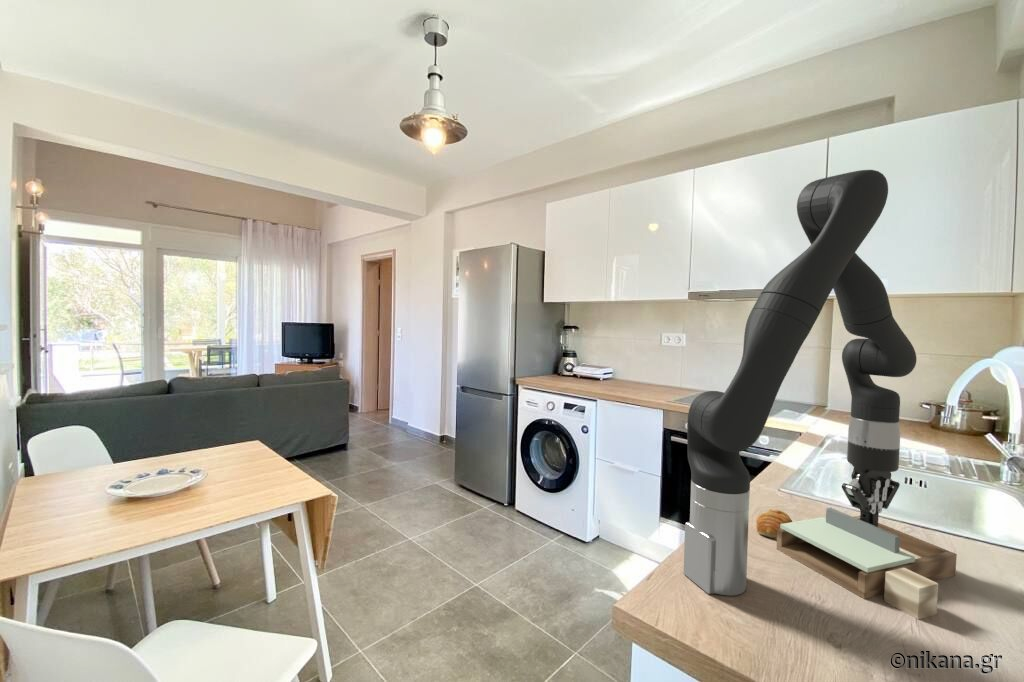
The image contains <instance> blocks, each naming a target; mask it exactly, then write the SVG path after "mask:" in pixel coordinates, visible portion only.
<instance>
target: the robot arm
mask: <svg viewBox="0 0 1024 682" xmlns="http://www.w3.org/2000/svg"><path fill="white" fill-rule="evenodd" d="M888 184H889V183H888V180H887V177H886V176H885V175H884V173H882V172H881V171H878V170H875V169H862V170H854V171H849V172H845V173H841V174H837V175H832V176H828V177H824V178H823V177H822V178H819V179H816V180H813V181H811V182H809V183H807V184H806V186H804V187H803V188H802V189H801V191H800V193H799V195H798V197H797V202H796V213H797V217H798V220H799V223H800V225H801V227H802V229H803V232H804V234H805V235H806V238H807V239H808V241H809V243H810V246H809V247H807V249H806V250H804V251H803V252H802V253H801V254H800V255H798V256H797V257H796V258H795V259H793V261H791V262H790V263H789V264H787V266H784V268H782V269H781V270H780V271H778V273H777V274H775V276H773V277H772V279H771V278H770V280H769V281H768V282H767V283H766V285H765V286H764V287H763V289H762V291H761V292H760V294H759V296H758V297H757V299H756V301H755V303H754V305H753V307H752V308H751V310H750V313H749V315H748V318H747V320H746V324H745V328H744V337H743V351H742V356H741V361H740V364H739V366H738V369H737V371H736V372H735V375H734V376H733V378H732V380H731V381H730V384H729V385H728V387H727V388H726V390H725V392H723V391H718V390H717V391H716V390H708V391H707V390H706V391H705V392H701V393H700V394H699V395H697V396H696V397H695V398H694V399H693V400H692V403H690V405H689V406H690V407H689V409H688V414H687V429H686V431H687V433H686V435H687V461H688V464H689V467H690V473H691V477H690V478H691V479H690V505H689V506H690V507H689V508H690V509H689V512H690V513H689V521H687V522H685V524H684V549H683V550H684V551H683V575H685V576H686V577H687V578H688V579H689V580H690V581H692V582H693V583H694V584H695V585H697V586H698V587H699V588H700V589H702V590H703V591H704V592H705V593H706V594H707V595H711V594H718V595H721V596H729V597H730V596H739V595H742V594H743V593H744V592H745V591H746V589H747V576H748V575H747V574H748V572H747V571H748V545H749V544H748V542H749V538H748V537H749V521H750V519H749V516H750V514H749V513H750V492H751V475H750V472H749V470H748V469H747V467H746V466H745V464H744V462H743V459H742V458H741V454H740V453H741V452H744V451H745V450H747V449H749V448H750V447H752V446H753V445H754V444H755V443H756V441H757V440H758V439H759V438H760V435H761V434H762V432H763V430H764V428H765V426H766V423H767V421H768V419H769V415H770V413H771V410H772V409H773V405H774V402H775V400H776V398H777V395H778V393H779V391H780V388H781V387H782V383H783V381H785V378H786V376H787V375H788V372H789V371H790V369H791V367H792V365H793V364H794V361H795V360H796V359H795V358H797V357H796V356H797V355H798V353H799V351H800V349H801V348H802V345H803V344H804V342H805V341H806V339H807V338H808V336H809V334H810V332H811V331H812V329H813V327H814V325H815V323H816V321H817V319H818V318H819V316H820V314H821V312H822V309H823V307H824V306H825V303H826V301H827V299H828V298H829V296H830V294H831V293H832V291H833V292H834V295H835V297H836V298H835V299H836V300H837V305H838V308H839V312H840V316H841V319H842V322H843V325H844V328H845V330H846V331H847V332H848V333H849V334H851V335H853V336H857V337H862V338H853V339H850V340H849V341H848V342H847V343H846V344H845V345H844V347H843V349H842V353H841V361H842V365H843V369H844V372H845V376H846V379H847V383H848V386H849V390H850V391H849V392H850V395H851V402H850V403H851V404H850V420H849V424H848V429H847V431H848V434H847V455H846V459H847V460H846V461H847V462H848V463H849V464H850V465H851V466H852V467H853V471H852V472H851V476H850V477H851V481H850V482H849V484H848V483H844V482H843V483H842V484H841V489H842V491H843V493H844V495H845V496H846V498H847V499H848V501H849V503H850V506H851V507H853V508H856V509H858V510H859V511H860V515H859V516H860V520H862V521H864V522H867V523H869V524H871V525H874V526H876V527H878V523H879V514H881V513H882V511H883V509H885V510H887V509H888V508H889V506H890V504H891V503H892V501H893V499H894V497H895V496H896V494H897V492H898V490H899V488H900V486H901V485H900V482H899V481H896V480H893V479H892V473H894V472H897V471H899V465H900V450H901V449H900V448H901V447H900V446H901V431H900V413H901V411H900V410H901V396H900V393H898V392H897V391H895V390H892V389H889V388H885V387H882V386H879V385H877V384H876V383H875V382H874V381H873V379H872V378H871V377H872V376H877V377H890V378H902V377H906V376H907V375H910V374H911V373H912V372H913V371H914V369H915V368H916V365H917V354H916V353H917V352H916V350H915V347H914V346H913V344H912V342H911V341H910V339H909V337H907V335H906V334H905V333H904V331H903V330H902V329H901V327H900V325H899V324H898V323H897V321H896V319H895V318H894V315H893V312H892V308H891V304H890V299H889V295H888V292H887V290H886V287H885V285H884V282H883V281H882V280H881V278H880V277H879V275H878V274H877V273H876V272H875V271H874V270H873V269H872V268H871V267H870V266H869V265H868V264H867V263H866V262H865V261H864V260H863V259H862V258H861V257H860V256H859V255H858V254H857V250H858V249H859V248H860V246H861V245H862V243H863V241H864V240H865V239H866V237H867V236H868V235H869V234H870V231H871V230H872V229H873V227H874V226H875V225H876V223H877V221H878V220H879V218H880V217H881V215H882V212H883V211H884V208H885V206H886V204H887V200H888V195H889V185H888Z"/></svg>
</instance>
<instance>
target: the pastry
mask: <svg viewBox="0 0 1024 682" xmlns="http://www.w3.org/2000/svg"><path fill="white" fill-rule="evenodd" d="M790 522H793V520H792V518H791V517H790V515H788V514H787V513H786V512H785V511H782V510H778V509H775V510H774V509H773V510H772V509H769V510H767V511H765V512H763V513H761V514H760V515H759V516H758V517H757V519H756V531H757V533H758V534H759V535H763V536H765V537H768V538H772V539H774V540H775V539H776V540H777V530H778V529H781V528H780V524H784V523H790Z"/></svg>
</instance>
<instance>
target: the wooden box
mask: <svg viewBox="0 0 1024 682" xmlns="http://www.w3.org/2000/svg"><path fill="white" fill-rule="evenodd" d="M853 517H854V518H857V519H859V520H860V515H856V516H855V515H854V516H853ZM878 527H879V528H881V529H884V530H886V531H889V532H891V533H893V534H896V535H898V536H900V547H899V550H900V551H902V552H905V553H907V554H909V555H911V556H914V557H915V562H911V563H907V564H903V565H898V566H894V567H890V568H885V569H881V570H877V571H872V572H868V573H867V572H865V571H863V570H861V569H859V568H857V567H855V566H853V565H851V564H850V563H848V562H846V561H844V560H842V559H840V558H838V557H836V556H834V555H832V554H830V553H828V552H826V551H824V550H822V549H820V548H818V547H816V546H814V545H813V544H811V543H809V542H807V541H805V540H803V539H801V538H799V537H797V536H795V535H793V534H791V533H789V532H787V531H785V530H783V529H778V530H777V539H776V550H778V551H780V552H781V553H783V554H785V555H786V556H788V557H790V558H792V559H793V560H795V561H797V562H798V563H800V564H802V565H804V566H805V567H807V568H809V569H811V570H813V571H814V572H816V573H818V574H819V575H822V576H823V577H825V578H826V579H829V580H830V581H831V582H834V583H836V584H837V585H839V586H841V587H842V588H844V589H846V590H848V591H849V592H851V593H853V594H855V595H856V596H858V597H859V598H862V599H863V600H864V599H869V598H873V597H877V596H881V595H884V594H885V574H886V572H887V571H891V570H895V569H900V568H906V569H908V570H910V571H912V572H915V573H917V574H919V575H921V576H923V577H925V578H927V579H930V580H932V581H934V582H936V581H939V580H944V579H947V578H951V577H954V576H956V572H957V569H956V568H957V553H955V552H952V551H950V550H948V549H945V548H942V547H940V546H937V545H935V544H933V543H930V542H927V541H925V540H922V539H920V538H918V537H916V536H913V535H909V534H907V533H905V532H903V531H900V530H898V529H895V528H893V527H890V526H887V525H886V524H882V523H880V522H878Z"/></svg>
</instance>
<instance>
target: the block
mask: <svg viewBox="0 0 1024 682" xmlns="http://www.w3.org/2000/svg"><path fill="white" fill-rule="evenodd" d="M938 594H939V583H938V582H936V581H932V580H930V579H927V578H925V577H923V576H921V575H919V574H917V573H915V572H912V571H910V570H908V569H906V568H900V569H895V570H891V571H887V572H886V574H885V594H883V595H884V596H883V598H884V599H883V601H884V602H885V603H887V604H889V605H891V606H893V607H894V608H897V609H898V610H900V611H901V612H904V613H905V614H907V615H909V616H910V617H912V618H914V619H916V620H920V619H921V620H922V619H925V618H928V617H932V616H935V615H937V614H938V597H939V596H938Z"/></svg>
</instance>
